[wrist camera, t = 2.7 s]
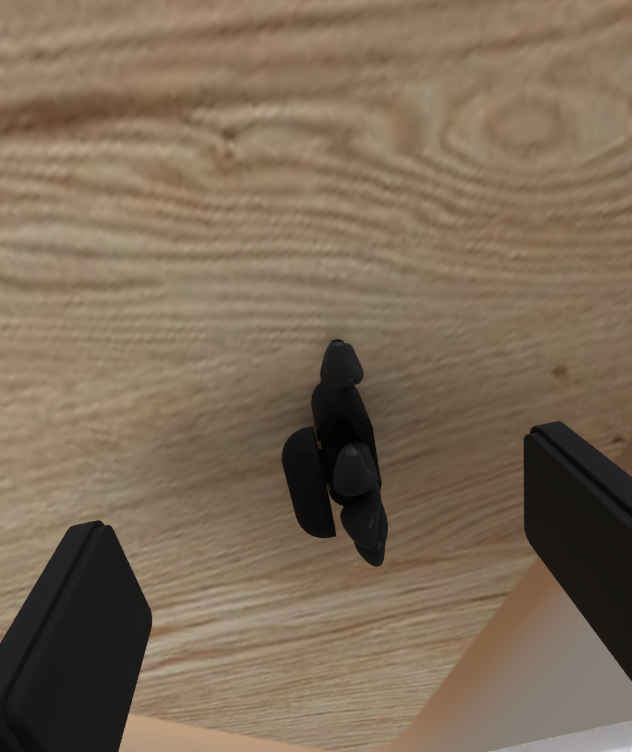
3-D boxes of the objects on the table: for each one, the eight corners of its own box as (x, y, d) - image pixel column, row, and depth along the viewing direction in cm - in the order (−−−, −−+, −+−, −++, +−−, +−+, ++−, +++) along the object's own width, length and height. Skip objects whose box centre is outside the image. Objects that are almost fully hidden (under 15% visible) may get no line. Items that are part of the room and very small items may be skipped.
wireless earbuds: (374, 493, 16) (413, 612, 12) (306, 507, 16) (319, 632, 12) (343, 307, 14) (377, 367, 9) (261, 324, 14) (254, 392, 9)
